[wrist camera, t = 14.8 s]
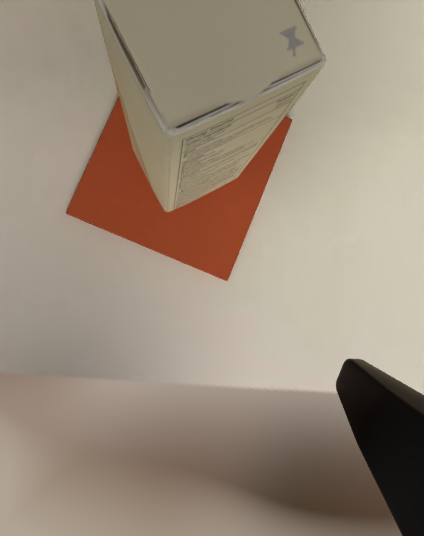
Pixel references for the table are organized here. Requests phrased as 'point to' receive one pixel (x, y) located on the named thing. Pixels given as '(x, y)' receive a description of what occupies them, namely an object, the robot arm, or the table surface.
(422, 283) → the table surface
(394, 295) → the table surface
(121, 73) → the box
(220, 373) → the table surface
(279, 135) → the mat
